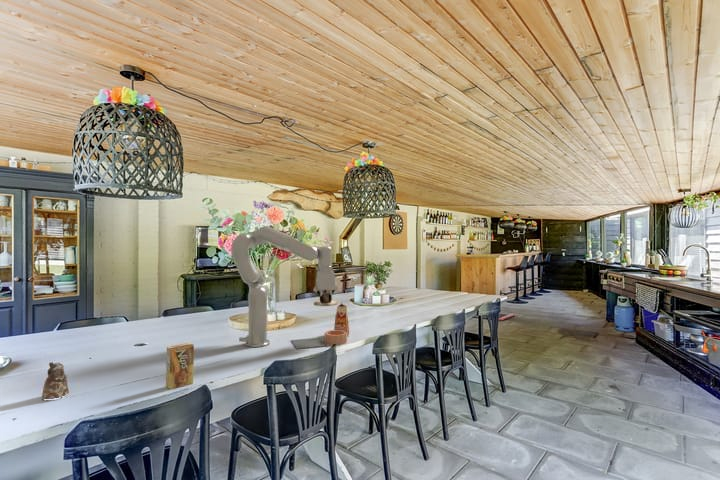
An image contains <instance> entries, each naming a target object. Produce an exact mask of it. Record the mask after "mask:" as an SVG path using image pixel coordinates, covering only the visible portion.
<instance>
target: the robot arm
mask: <svg viewBox="0 0 720 480" xmlns="http://www.w3.org/2000/svg"><path fill="white" fill-rule="evenodd" d="M264 244H269V245H270V246H273V247H276V248H277V249H279V250H282V251H284V252H287V253H289V254H290V253H291V254H293V255H294V256H297V257H299V258H302V259H304V260H306V261H309V262H310V261H314V260H317V261H318V262H317V265H318V266H316V267H315V270H317V272H316V278H315V286H314V287H313V292H314V293H317V295H319V301H320V302H321V303H323V295H322V294H323V293H324V291H328V293H329V302H330V303H331V301H333V297H332V296H333V294H334V293H335V292H336V291H338V290H339V289H338V286H337V284H336V277H335V272H334V270H333V251H332V249H333V248H332V247H331V246H326V245H324V246H323V245H322V246H313V245H312V246H311V245H309V244H307V243H305V242H302V241H301V240H298V239H296V238H295V237H293V236H291V235H290V234H287V233H285V232H282V231H280V230H278V229H275V228H273V227H271V226H267V225H264V226H262V227H261V228H259V229H256V230H253V231H250V232H243V233H240V234H238V235H237V236H236V237H235V239H233V241H232V244H231V247H230V253H231V256H232V259H233V261H234V263H235V267H236V269H237V270H238V271H237V272H238V273H239V275H240V278H241V280H242V281H243V282H244V283H245V284H246V285H247V286H248V288H249V291H248V294H247V300H248V326H247V327H248V334H247V335H246V336H245V337H243V336H241V337H239V339H238V342H242V343H243V342H244V345H245V346H246V347H249V346H250V348H260V347H265V346H268V345H270V339H268V338H267V337H268V336H267V335H268V334H267V333H268V329H267V328H268V323H267V322H268V296H269V294H270V288H269V286H268V284H267V282H266V279H265V277H264V274H263V272H262V271H261V269H260V268H259V267H258V266H257V265H255V264H254V261H253V259H252V257H251V255H250V253H249V250H250V249H252V248H255V247H258V246H261V245H264Z"/></svg>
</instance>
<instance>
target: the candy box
mask: <svg viewBox="0 0 720 480" xmlns="http://www.w3.org/2000/svg"><path fill="white" fill-rule="evenodd" d="M194 352H195V344H193V343H191V342H186V343H181V344H176V345H170V346H166V360H165V361H166V363H165V364H166V365H165V366H166V367H165V368H166V369H165V370H166V373H165V376H166V377H165V378H166V379H165V388H167V389H169V390H173V389H176V388H181V387H184V386H188V385H191V384H194V358H195V357H194V354H195V353H194Z"/></svg>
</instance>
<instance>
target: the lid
mask: <svg viewBox="0 0 720 480" xmlns="http://www.w3.org/2000/svg"><path fill="white" fill-rule="evenodd" d="M322 295H323V303H321V302H320V300H317V301H314V302H313V305H314V306H316V307H317V306H318V307H333V306H336V305H337V306H338V301H336V300H332V301H331V303H330V302H329V292H323V294H322Z"/></svg>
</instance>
